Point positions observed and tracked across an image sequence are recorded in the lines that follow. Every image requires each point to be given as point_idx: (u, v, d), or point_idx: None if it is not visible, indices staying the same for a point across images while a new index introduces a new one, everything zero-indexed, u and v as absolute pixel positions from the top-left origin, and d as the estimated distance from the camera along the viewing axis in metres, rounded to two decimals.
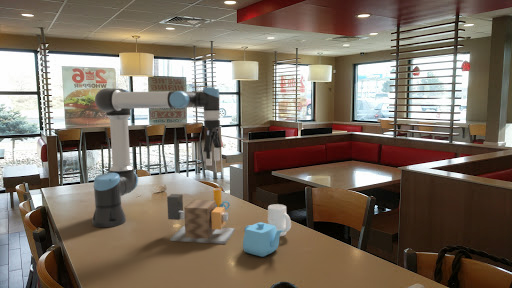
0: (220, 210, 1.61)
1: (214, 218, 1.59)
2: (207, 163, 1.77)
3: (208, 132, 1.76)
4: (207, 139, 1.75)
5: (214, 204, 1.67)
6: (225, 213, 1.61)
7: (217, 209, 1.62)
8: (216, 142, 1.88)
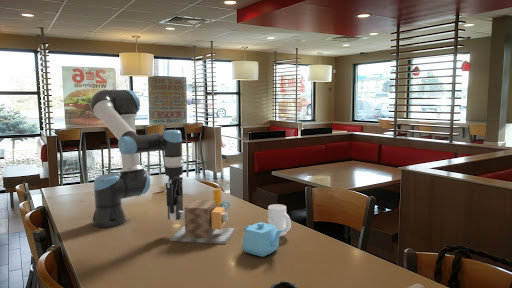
0: (220, 210, 1.61)
1: (214, 218, 1.59)
2: (171, 218, 1.63)
3: (168, 185, 1.58)
4: (169, 193, 1.58)
5: (214, 204, 1.67)
6: (225, 213, 1.61)
7: (217, 209, 1.62)
8: (178, 193, 1.67)
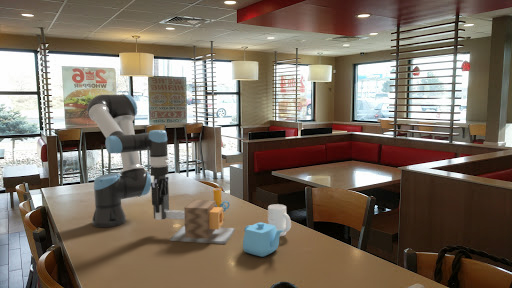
0: (218, 210, 1.61)
1: (212, 218, 1.59)
2: (157, 217, 1.64)
3: (153, 185, 1.59)
4: (154, 192, 1.60)
5: (214, 204, 1.67)
6: None
7: (215, 209, 1.62)
8: (163, 193, 1.68)
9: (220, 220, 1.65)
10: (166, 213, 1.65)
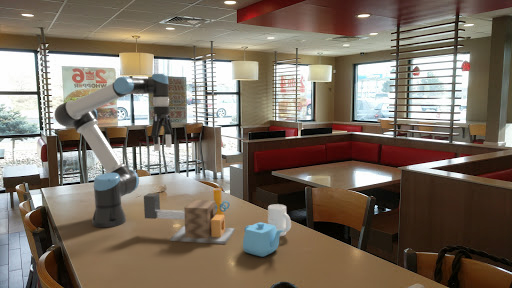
0: (220, 218, 1.61)
1: (214, 226, 1.59)
2: (155, 148, 1.80)
3: (156, 118, 1.78)
4: (155, 124, 1.78)
5: (214, 204, 1.67)
6: None
7: (217, 217, 1.63)
8: (167, 129, 1.90)
9: (222, 228, 1.65)
10: (157, 213, 1.66)
